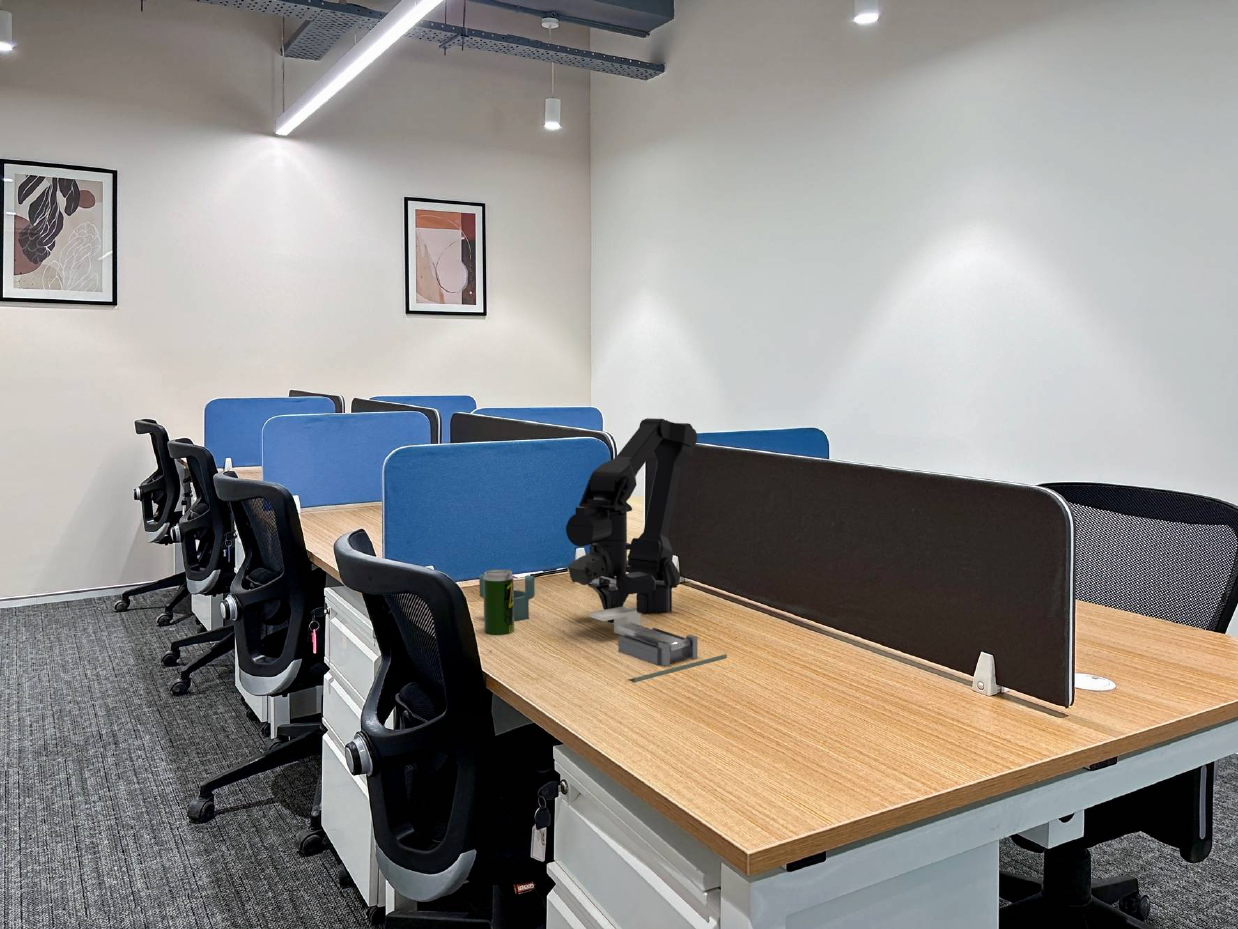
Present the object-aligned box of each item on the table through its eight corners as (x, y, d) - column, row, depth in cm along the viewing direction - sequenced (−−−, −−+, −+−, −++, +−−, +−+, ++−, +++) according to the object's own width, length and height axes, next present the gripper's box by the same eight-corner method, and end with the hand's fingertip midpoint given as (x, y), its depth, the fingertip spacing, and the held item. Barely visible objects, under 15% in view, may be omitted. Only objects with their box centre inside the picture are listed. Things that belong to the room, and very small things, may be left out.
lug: (627, 629, 169) (626, 605, 169) (641, 634, 166) (641, 609, 166) (589, 637, 164) (589, 612, 164) (603, 642, 161) (603, 617, 161)
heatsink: (654, 643, 161) (654, 622, 161) (699, 658, 152) (699, 636, 152) (618, 652, 156) (618, 630, 156) (662, 668, 147) (662, 644, 147)
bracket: (537, 622, 180) (537, 576, 179) (493, 628, 175) (493, 581, 175) (518, 612, 188) (518, 568, 187) (475, 618, 183) (475, 573, 182)
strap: (632, 627, 162) (633, 620, 162) (690, 648, 151) (690, 640, 151) (614, 631, 160) (614, 623, 160) (671, 653, 148) (671, 644, 148)
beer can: (484, 642, 166) (483, 576, 165) (484, 634, 171) (483, 569, 170) (514, 641, 167) (513, 575, 166) (513, 633, 172) (512, 569, 171)
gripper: (545, 536, 171) (546, 619, 173) (606, 550, 157) (607, 641, 158) (594, 530, 178) (594, 610, 180) (657, 543, 163) (657, 630, 165)
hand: (611, 622), depth 170 cm, fingers closed
